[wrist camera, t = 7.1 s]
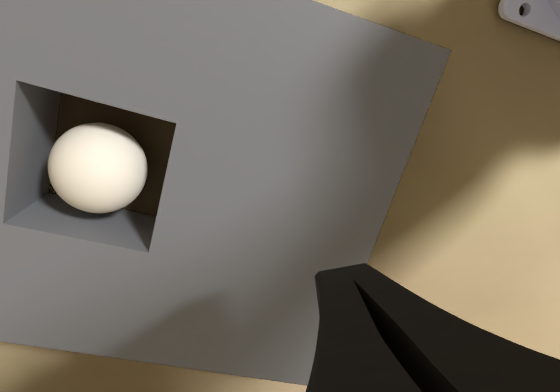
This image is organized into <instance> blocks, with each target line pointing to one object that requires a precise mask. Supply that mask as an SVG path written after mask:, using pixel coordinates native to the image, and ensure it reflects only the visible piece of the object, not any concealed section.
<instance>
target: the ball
mask: <svg viewBox="0 0 560 392" xmlns="http://www.w3.org/2000/svg"><path fill="white" fill-rule="evenodd" d="M147 172H148V169H147V160H146V157H145V154H144V151H143V149H142V147H141V146H140V145H139V143H138V142H137V141H136V140H135V139H134V138H133V137H132V136H131V135H130V134H129V133H127V132H126V131H124V130H123V129H121V128H119V127H116V126H113V125H110V124H105V123H87V124H82V125H79V126H76V127H74V128H72V129H70V130H68V131H67V132H65V133H64V134H63V135H62V136H61V137H59V139H58V140H57V141H56V142H55V144H54V145H53V147H52V149H51V151H50V154H49V158H48V175H49V179H50V182H51V184H52V186H53V188H54V189H55V191H56V192H57V194H58V195H59V196H60V197H61V198H62V199H63V200H64V201H65V202H67V203H68V204H70V205H71V206H73V207H75V208H77V209H79V210H82V211H86V212H91V213H107V212H113V211H116V210H119V209H121V208H123V207H125V206H127V205H128V204H130V203H131V202H132V201H133V200H134V199H136V197H137V196H138V195H139V194H140V192H141V191H142V189H143V187H144V185H145V182H146V179H147Z"/></svg>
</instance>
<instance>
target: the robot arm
mask: <svg viewBox="0 0 560 392" xmlns="http://www.w3.org/2000/svg"><path fill="white" fill-rule="evenodd" d="M521 5H522V6H523V8H524V12H523V14H522V16H521V15H520V14H519V8H520V6H521ZM498 11H499V15H500V17H501V18H503V19H504V20H507V21H509V22H512V23H514V24H517V25H520V26H522V27H525V28H527V29H530V30H532V31H535V32H537V33H540V34H543V35H545V36H548V37H550V38H553V39H555V40H558V41H560V0H501V1H500V3H499V7H498ZM315 284H316V292H317V300H318V308H319V316H320V317H319V329H318V336H317V344H316V350H315V356H314V361H313V366H312V370H311V374H310V378H309V382H308V386H307V389H306V392H560V360H559V359H556V358H554V357H551V356H548V355H545V354H542V353H539V352H537V351H534V350H531V349H529V348H526V347H524V346H521V345H518V344H516V343H513V342H511V341H509V340H506V339H504V338H502V337H499V336H497V335H495V334H492V333H490V332H488V331H485V330H483V329H481V328H479V327H477V326H474V325H472V324H470V323H468V322H466V321H464V320H462V319H460V318H458V317H456V316H454V315H452V314H450V313H448V312H447V311H445V310H443V309H441V308H439V307H437V306H435V305H433V304H432V303H430V302H428V301H426V300H425V299H423V298H421V297H419V296H418V295H416V294H414V293H413V292H411V291H409V290H408V289H406V288H404V287H403V286H401V285H399V284H398V283H396V282H395V281H393V280H391V279H390V278H388V277H387V276H385V275H383V274H382V273H380V272H379V271H377V270H376V269H374V268H372V267H371V266H369V265H367V264H366V263H362V264H356V265H351V266H345V267H340V268H335V269H329V270H324V271H318V273H317V274H316V275H315Z"/></svg>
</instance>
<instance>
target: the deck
mask: <svg viewBox="0 0 560 392" xmlns="http://www.w3.org/2000/svg"><path fill="white" fill-rule="evenodd" d="M450 53H451V50H449V49H446V48H444V47H441V46H438V45H435V44H432V43H430V42H427V41H424V40H421V39H419V38H416V37H413V36H410V35H407V34H405V33H402V32H399V31H396V30H393V29H391V28H388V27H385V26H382V25H380V24H377V23H374V22H371V21H368V20H366V19H363V18H360V17H357V16H354V15H352V14H349V13H346V12H343V11H341V10H338V9H335V8H332V7H329V6H327V5H324V4H321V3H318V2H315V1H313V0H0V342H7V343H14V344H21V345H28V346H35V347H42V348H49V349H56V350H63V351H70V352H77V353H84V354H91V355H98V356H104V357H111V358H118V359H125V360H132V361H139V362H146V363H153V364H160V365H167V366H174V367H181V368H188V369H195V370H202V371H209V372H216V373H223V374H230V375H237V376H244V377H251V378H258V379H265V380H271V381H278V382H285V383H292V384H299V385H306V386H308V382H309V378H310V374H311V370H312V366H313V361H314V356H315V350H316V344H317V336H318V329H319V317H320V316H319V308H318V300H317V292H316V284H315V275H316V274H317V273H318V271H324V270H329V269H335V268H340V267H345V266H351V265H356V264H362V263H366V264H367V263H368V260H369V257H370V255H371V252H372V250H373V247H374V245H375V242H376V240H377V237H378V235H379V232H380V230H381V227H382V225H383V222H384V220H385V217H386V214H387V212H388V209H389V207H390V204H391V202H392V199H393V197H394V194H395V192H396V189H397V187H398V184H399V182H400V179H401V177H402V174H403V171H404V169H405V166H406V164H407V161H408V159H409V156H410V154H411V151H412V149H413V146H414V144H415V141H416V139H417V136H418V134H419V131H420V128H421V126H422V123H423V121H424V118H425V116H426V113H427V111H428V108H429V106H430V103H431V101H432V98H433V96H434V93H435V91H436V88H437V85H438V83H439V80H440V78H441V75H442V73H443V70H444V68H445V65H446V63H447V60H448V58H449V55H450ZM61 92H62V93H65V94H69V95H73V96H76V97H80V98H84V99H88V100H91V101H95V102H99V103H102V104H106V105H110V106H114V107H117V108H121V109H125V110H128V111H132V112H136V113H139V114H143V115H147V116H151V117H154V118H158V119H162V120H165V121H169V122H173V123H176V128H175V132H174V137H173V142H172V146H171V151H170V156H169V160H168V165H167V170H166V174H165V179H164V184H163V188H162V193H161V198H160V202H159V207H158V212H157V216H152V215H147V214H142V213H138V212H133V211H129V210H124V209H119V210H116V211H113V212H107V213H91V212H86V211H82V210H79V209H77V208H75V207H73V206H71V205H70V204H68V203H67V202H65V201H64V200H63V199H62V198H61V197H60V196H59V195H56V194H51V193H48V192H49V184H50V179H49V175H48V158H49V154H50V151H51V149H52V147H53V145H54V144H55V137H56V129H57V121H58V113H59V105H60V97H61Z"/></svg>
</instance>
